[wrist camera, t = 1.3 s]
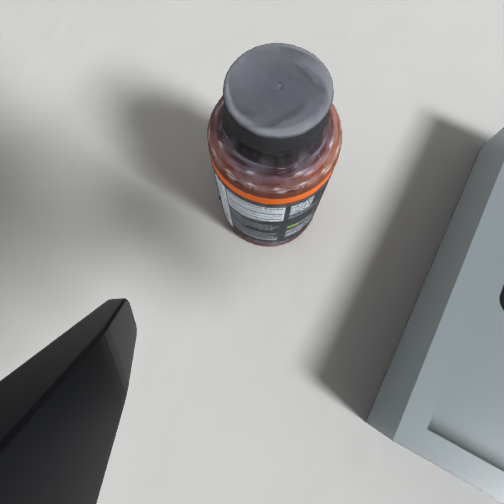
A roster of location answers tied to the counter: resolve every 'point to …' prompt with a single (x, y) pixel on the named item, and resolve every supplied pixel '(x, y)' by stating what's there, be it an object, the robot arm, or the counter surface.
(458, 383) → the gray square tray
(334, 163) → the supplement bottle
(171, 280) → the counter surface
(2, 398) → the robot arm
